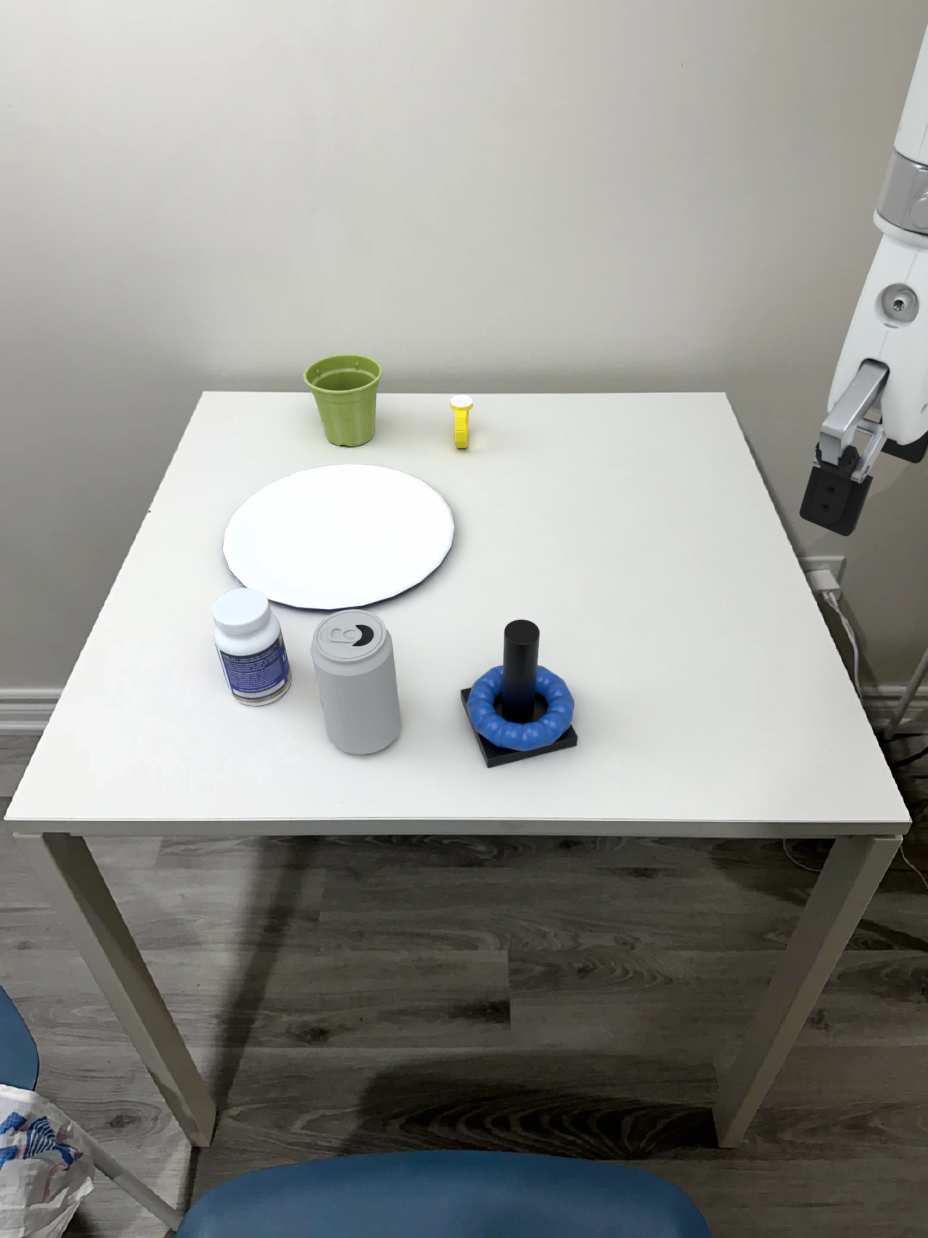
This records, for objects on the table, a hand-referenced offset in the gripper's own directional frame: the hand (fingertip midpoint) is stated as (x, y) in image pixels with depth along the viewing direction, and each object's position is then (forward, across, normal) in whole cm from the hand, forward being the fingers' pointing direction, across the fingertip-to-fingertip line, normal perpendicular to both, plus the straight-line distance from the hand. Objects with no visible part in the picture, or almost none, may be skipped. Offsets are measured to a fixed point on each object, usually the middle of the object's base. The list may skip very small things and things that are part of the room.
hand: (862, 488), depth 53 cm
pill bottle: (+26, -24, +38) cm, 52 cm away
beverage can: (+26, -21, +27) cm, 43 cm away
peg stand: (+27, -12, +18) cm, 34 cm away
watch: (+26, +17, +52) cm, 61 cm away
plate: (+26, -5, +49) cm, 56 cm away
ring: (+24, -12, +18) cm, 32 cm away
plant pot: (+26, +9, +64) cm, 69 cm away
